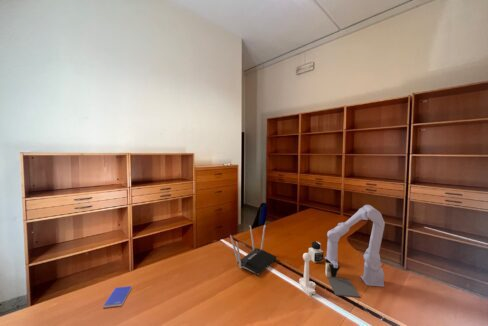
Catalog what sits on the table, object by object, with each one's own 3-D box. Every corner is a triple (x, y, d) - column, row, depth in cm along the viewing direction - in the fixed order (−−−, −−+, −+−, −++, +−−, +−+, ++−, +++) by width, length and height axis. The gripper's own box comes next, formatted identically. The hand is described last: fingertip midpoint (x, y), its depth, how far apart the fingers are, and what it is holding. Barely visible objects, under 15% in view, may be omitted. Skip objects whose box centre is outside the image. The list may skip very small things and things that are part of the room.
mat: (348, 279, 116) (348, 278, 116) (360, 297, 103) (360, 296, 103) (327, 278, 118) (327, 277, 118) (335, 295, 104) (335, 294, 104)
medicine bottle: (314, 263, 133) (314, 245, 133) (308, 257, 140) (308, 241, 139) (323, 261, 135) (324, 244, 135) (316, 256, 142) (317, 239, 141)
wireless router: (253, 281, 114) (254, 248, 113) (224, 267, 128) (224, 236, 126) (280, 256, 141) (281, 229, 139) (253, 246, 155) (254, 221, 153)
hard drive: (121, 303, 96) (131, 286, 108) (103, 305, 94) (115, 287, 106) (121, 306, 96) (131, 288, 108) (103, 308, 94) (115, 290, 106)
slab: (335, 274, 122) (335, 263, 121) (337, 277, 119) (337, 266, 118) (325, 273, 122) (325, 262, 122) (326, 276, 119) (327, 265, 119)
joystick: (297, 282, 114) (298, 248, 113) (309, 280, 115) (310, 247, 114) (307, 296, 103) (308, 259, 102) (320, 294, 105) (322, 257, 103)
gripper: (321, 244, 127) (321, 264, 128) (329, 256, 113) (328, 279, 114) (333, 245, 126) (332, 265, 127) (342, 257, 112) (341, 280, 113)
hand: (331, 272), depth 120 cm, fingers open, 7 cm apart
